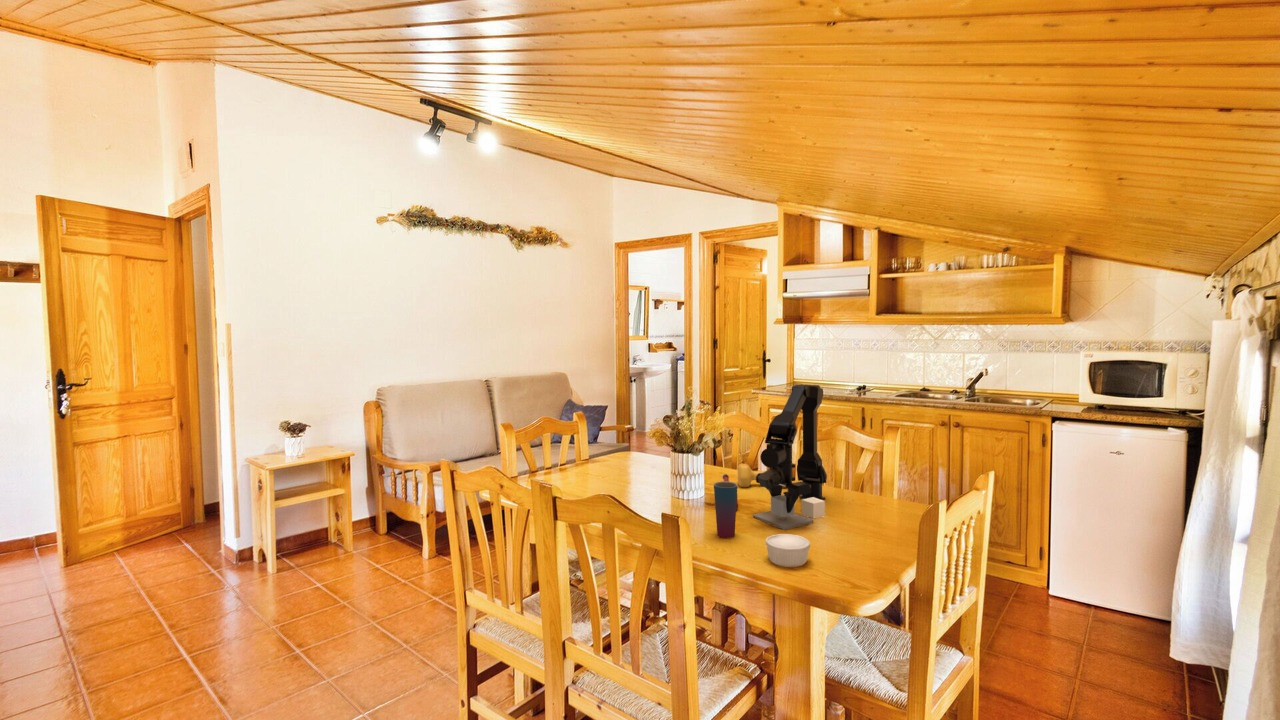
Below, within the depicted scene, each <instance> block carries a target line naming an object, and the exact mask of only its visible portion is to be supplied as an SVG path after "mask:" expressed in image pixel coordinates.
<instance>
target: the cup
mask: <svg viewBox="0 0 1280 720" xmlns="http://www.w3.org/2000/svg"><path fill="white" fill-rule="evenodd" d="M738 485H739V484H738V483H736V482H734V481H729V482H728V481H724V480H722V481H717V482H714V483H713V492H714V493H713V494H714V508H715V521H716V535H717V537H719V538H722V539H732V538H735V535H736V521H737V520H736V519H737V510H736V504H737V500H738Z"/></svg>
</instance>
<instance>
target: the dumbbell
mask: <svg viewBox="0 0 1280 720" xmlns="http://www.w3.org/2000/svg"><path fill="white" fill-rule="evenodd" d="M765 471H766V470H752V469H751V466H750V465H749V464H748V463H739V465H738V467H737V484H738V485H739V487H740V488H748V487H750V485H751V482H752V481H756V476H757V475H758V473H763V472H765ZM785 488H786V487H783V486H782V489H785ZM786 489H787V488H786Z"/></svg>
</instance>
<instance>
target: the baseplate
mask: <svg viewBox="0 0 1280 720" xmlns="http://www.w3.org/2000/svg"><path fill="white" fill-rule="evenodd" d="M753 517H755V518H754V519H756V518H757V519H756V520H758V519H759V520H758V521H761V520H762V521H761V522H763V521H764V522H763V523H765V524H768V523H769V524H768V525H770V526H773V527H775V526H776V528H778V529H780V530H783V531H786V530H791V529H794V528H798V527H802V526H805V525H806V524H807V525H810V523H811V524H813V523H814V521H815V519H812V518H809V517H806V516H803V515H802V514H799V513H795V512H794V515H790V516H786V517H780V516H778V515H775V514H772V513H771V510H768V511H764V512H760V513H755V514H754V513H753V514H752V518H753ZM807 525H806V526H807Z"/></svg>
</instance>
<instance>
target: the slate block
mask: <svg viewBox="0 0 1280 720" xmlns="http://www.w3.org/2000/svg"><path fill="white" fill-rule="evenodd" d="M770 511H771V513H772V514H775V515H778V516H780V517H786V516H790V515H794V513H795V505H794V506H793V508H792V511H791V512H790V513H787V507H786V496H785V495H784V494H781V495H779V496H774V497H771V496H770Z"/></svg>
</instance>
